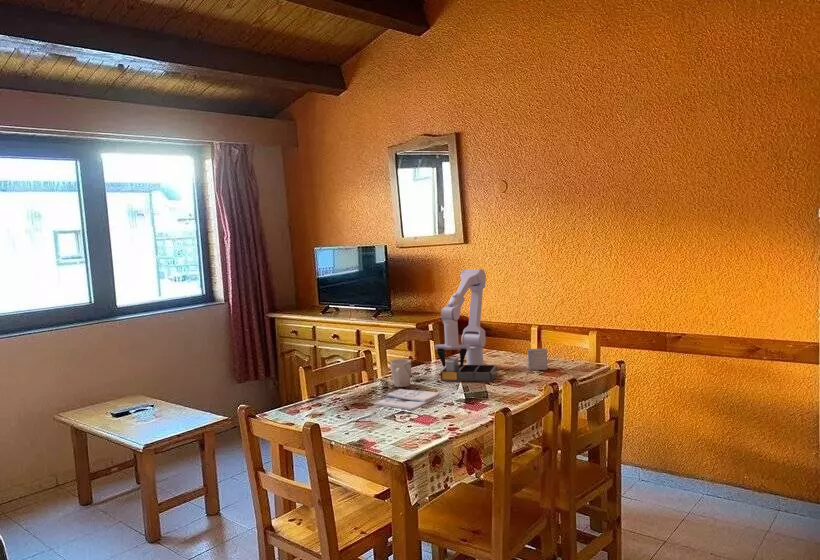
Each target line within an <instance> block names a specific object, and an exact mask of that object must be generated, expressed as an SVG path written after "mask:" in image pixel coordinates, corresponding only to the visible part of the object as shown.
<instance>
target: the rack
mask: <svg viewBox="0 0 820 560" xmlns="http://www.w3.org/2000/svg"><path fill="white" fill-rule="evenodd" d="M497 374H498V369H497V364H485V365H467V364H463V367H461V366H460V364H459V370H458V371H457V372H446V366H445V367H443V369H442V370H441V371H440V381H441V382H463V381H483V382H482V383H493V382H494V379H495V378H496V376H497Z"/></svg>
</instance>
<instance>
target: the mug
mask: <svg viewBox="0 0 820 560" xmlns="http://www.w3.org/2000/svg"><path fill="white" fill-rule="evenodd" d="M390 370H391V376H392V380H393V381H392V382H393V385H394V387H396V388H405V387H406V388H407V387H409V386H410V384H411V376H412V360H411V359H408V358H398V359H393V360H391V361H390Z"/></svg>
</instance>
